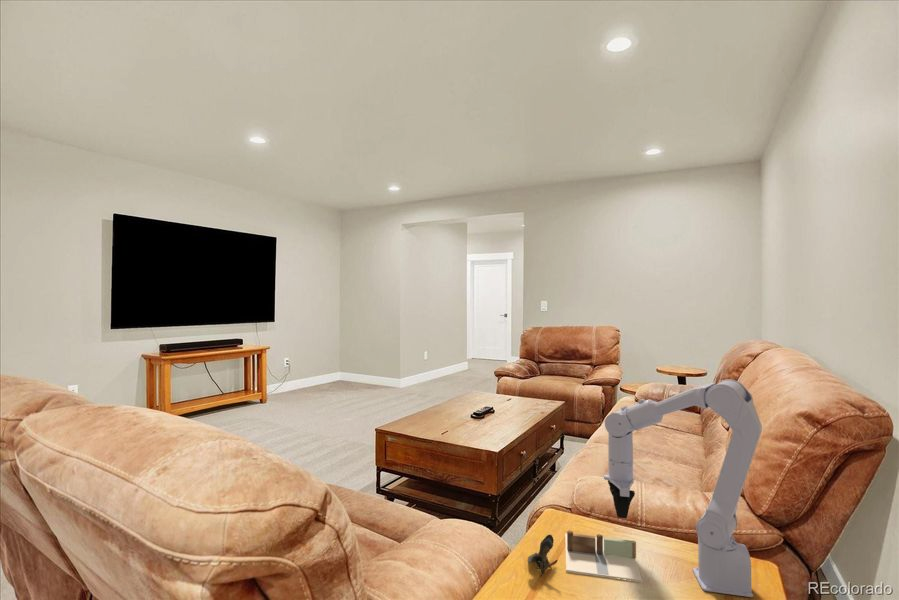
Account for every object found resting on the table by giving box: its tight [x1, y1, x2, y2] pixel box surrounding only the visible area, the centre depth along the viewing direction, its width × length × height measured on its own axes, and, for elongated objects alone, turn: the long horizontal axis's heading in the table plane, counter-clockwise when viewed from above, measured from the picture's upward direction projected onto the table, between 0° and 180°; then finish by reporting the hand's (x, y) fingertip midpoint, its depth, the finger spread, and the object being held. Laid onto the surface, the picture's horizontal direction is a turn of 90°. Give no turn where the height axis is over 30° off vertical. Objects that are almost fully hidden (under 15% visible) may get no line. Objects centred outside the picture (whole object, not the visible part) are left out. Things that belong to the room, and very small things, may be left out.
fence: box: [566, 530, 604, 555], centre depth 108 cm, size 8×1×4 cm, turn 76°
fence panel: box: [603, 537, 637, 559], centre depth 106 cm, size 7×1×4 cm, turn 76°
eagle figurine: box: [527, 534, 559, 579], centre depth 103 cm, size 8×7×9 cm
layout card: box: [564, 532, 643, 583], centre depth 107 cm, size 16×17×1 cm
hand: (620, 514), depth 111 cm, fingers open, 3 cm apart
